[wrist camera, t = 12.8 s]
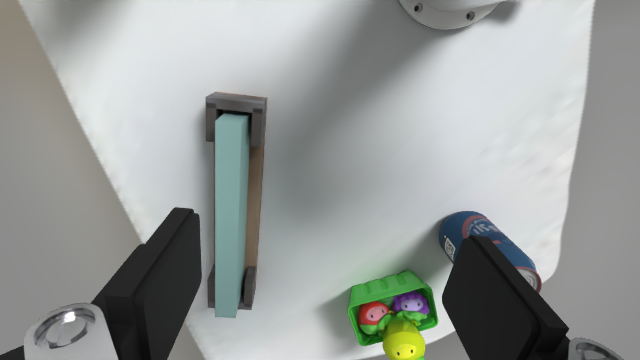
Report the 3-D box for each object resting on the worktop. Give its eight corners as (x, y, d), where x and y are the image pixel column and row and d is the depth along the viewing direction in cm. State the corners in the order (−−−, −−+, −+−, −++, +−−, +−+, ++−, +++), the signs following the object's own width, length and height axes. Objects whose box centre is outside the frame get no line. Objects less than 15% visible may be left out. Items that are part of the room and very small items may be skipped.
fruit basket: (417, 260, 45) (452, 323, 35) (427, 305, 49) (462, 375, 38) (341, 281, 46) (352, 349, 36) (356, 324, 49) (370, 398, 39)
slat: (228, 109, 35) (215, 121, 29) (251, 111, 35) (241, 124, 30) (226, 282, 44) (215, 316, 38) (243, 284, 44) (235, 317, 39)
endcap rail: (267, 97, 35) (263, 103, 32) (255, 288, 46) (251, 309, 42) (215, 91, 35) (205, 97, 31) (215, 286, 45) (207, 307, 41)
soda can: (489, 205, 42) (555, 261, 31) (480, 249, 45) (538, 314, 34) (438, 207, 42) (487, 264, 31) (432, 251, 45) (475, 318, 34)
